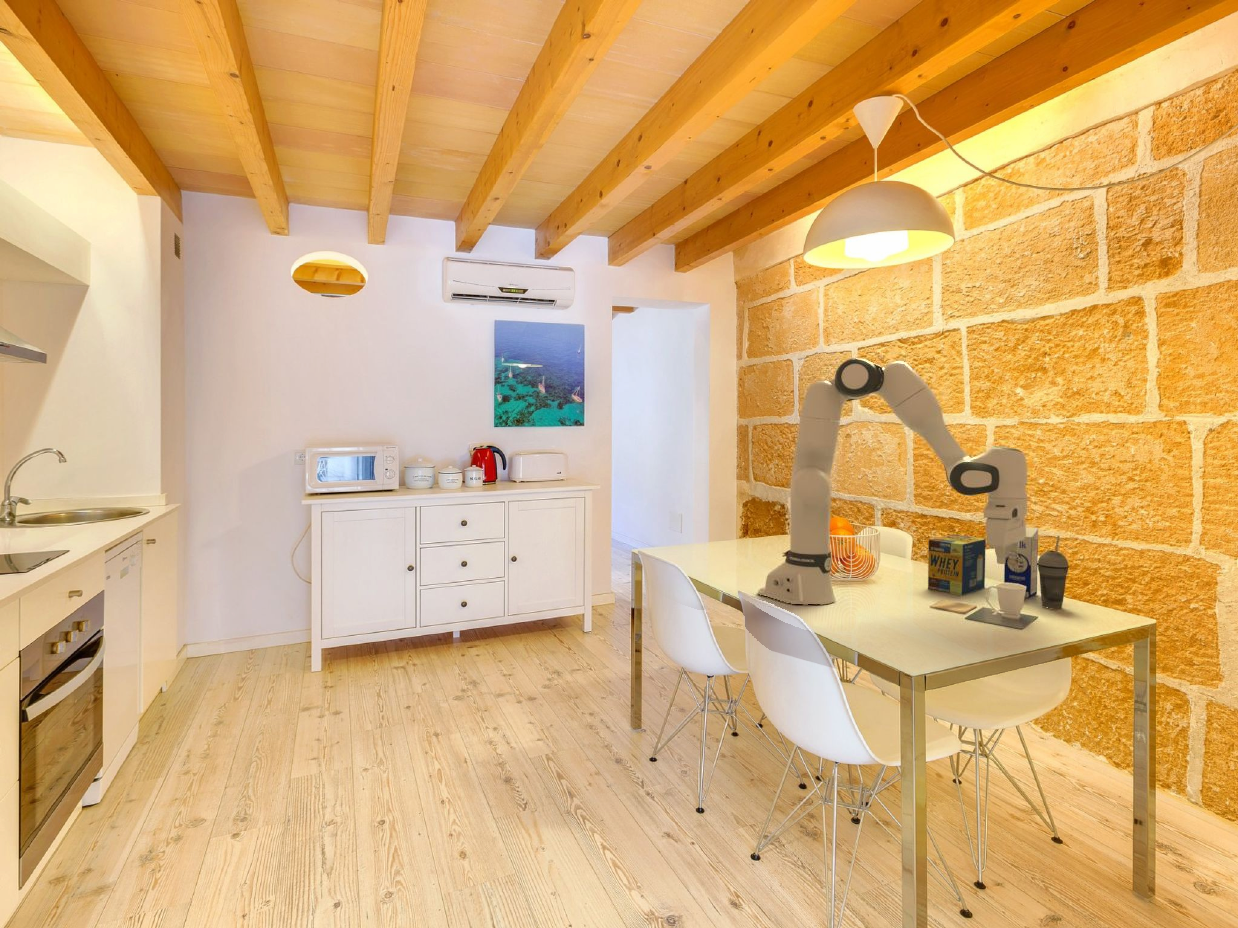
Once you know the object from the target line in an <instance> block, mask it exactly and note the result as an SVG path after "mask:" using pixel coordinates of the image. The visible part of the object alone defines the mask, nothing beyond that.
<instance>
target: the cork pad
mask: <svg viewBox="0 0 1238 928" xmlns="http://www.w3.org/2000/svg"><path fill="white" fill-rule="evenodd" d="M929 608H930V609H935V610H940V611H945V612H951V613H957V614H962V615H966V614H967V613H969V612H971V611H973V610H975V609H976V608H977V605H974V604H971V603H970V604H969V603H963V602H957V601H954V600H953V601H951V600H946V599H941V600H939V601H937V602H935V603H933V604H931V605H929Z"/></svg>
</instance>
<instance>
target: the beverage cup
mask: <svg viewBox="0 0 1238 928" xmlns="http://www.w3.org/2000/svg"><path fill="white" fill-rule="evenodd" d="M1059 542H1060V535H1057V536H1056V542H1055V549H1054V550H1048V551H1044V552H1043V553H1042V554H1041V555H1039V558H1038V563H1037V572H1038V574H1039V587H1040V599H1041V606H1042V607H1043V606H1044V607H1043V608H1045V607H1048V608H1047V609H1049V608H1052V609H1051V610H1062V609H1063V604H1064V597H1065V589H1066V582H1067V581H1066V580H1067V574H1068V571H1069V568H1070V566H1069V561H1068V560H1067V558H1066V556H1065V555H1064V554H1063V553H1061V552H1059V551H1058V548H1059ZM1061 608H1062V609H1061Z"/></svg>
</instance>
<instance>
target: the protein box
mask: <svg viewBox="0 0 1238 928" xmlns="http://www.w3.org/2000/svg"><path fill="white" fill-rule="evenodd" d="M986 545H987V538H982V537H981V538H980V537H973V536H966V535H961V534H960V535H959V534H949V535H944V536H939V537H936V538H931V539H929V540H928V550H927V551H928V552H927V553H928V554H927V555H928V560H927V562H928V564H927V568H928V569H927V589H928V590H932V591H937V592H942V593H947V594H952V595H956V596H965V595H967V594H971V593H974V592H976V591H978V590H982V589H985V587H986V586H985V582H986V579H985V577H986V548H987V547H986Z"/></svg>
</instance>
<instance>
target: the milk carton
mask: <svg viewBox="0 0 1238 928" xmlns="http://www.w3.org/2000/svg"><path fill="white" fill-rule="evenodd" d="M1039 530H1040V528H1038V527H1029V526H1028V527H1027V526H1026V536H1025V539H1023V540H1021V541H1019V547H1018V551H1017V557H1016V558H1009V557H1008V551H1009V546H1008V547H1006V551H1005V557H1006V563H1005V564H1003V565H1004V566H1003V567H1004V568H1003V569H1004V575H1003V581H1004V582H1003V583H1015V584H1020V585H1024V586H1026V592H1025V597H1024V599H1029V598H1030V599H1032V598H1033V597H1035V596H1037V595H1036V594H1038V565H1037V563H1038V560H1039V558H1038V556H1039V555H1038V553H1039Z"/></svg>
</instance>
